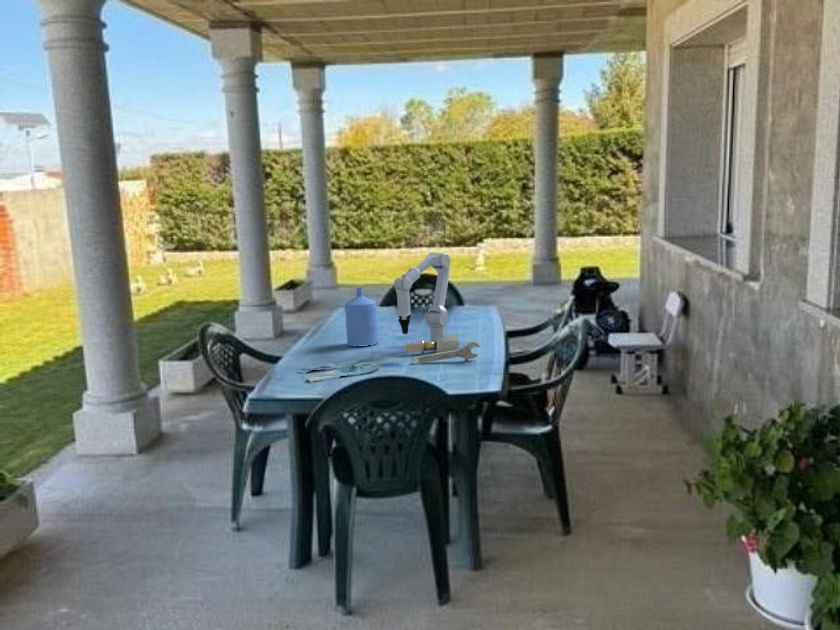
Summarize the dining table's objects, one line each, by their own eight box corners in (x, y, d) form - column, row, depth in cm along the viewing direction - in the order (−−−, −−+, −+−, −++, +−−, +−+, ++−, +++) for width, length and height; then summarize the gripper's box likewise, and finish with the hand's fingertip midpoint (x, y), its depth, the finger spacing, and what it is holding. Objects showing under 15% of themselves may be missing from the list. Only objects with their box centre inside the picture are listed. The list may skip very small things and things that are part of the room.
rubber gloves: (292, 371, 334) (291, 356, 333) (363, 360, 346) (362, 346, 345) (309, 384, 309) (308, 368, 308) (384, 372, 321) (383, 357, 320)
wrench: (413, 369, 334) (481, 358, 333) (413, 370, 332) (482, 358, 332) (410, 352, 332) (478, 340, 332) (410, 353, 331) (479, 341, 330)
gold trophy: (406, 352, 353) (405, 339, 352) (436, 351, 353) (436, 337, 352) (406, 355, 347) (405, 342, 346) (437, 354, 347) (436, 340, 345)
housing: (436, 350, 357) (435, 335, 355) (458, 348, 357) (457, 334, 355) (437, 356, 343) (436, 341, 342) (459, 355, 343) (458, 340, 342)
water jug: (374, 347, 370) (370, 290, 366) (343, 347, 374) (339, 290, 369) (382, 340, 386) (378, 285, 381) (352, 341, 389) (348, 286, 384)
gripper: (395, 301, 359) (397, 329, 361) (394, 306, 345) (396, 335, 347) (410, 300, 359) (412, 329, 361) (410, 305, 345) (411, 334, 347)
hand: (405, 332), depth 354 cm, fingers open, 7 cm apart
